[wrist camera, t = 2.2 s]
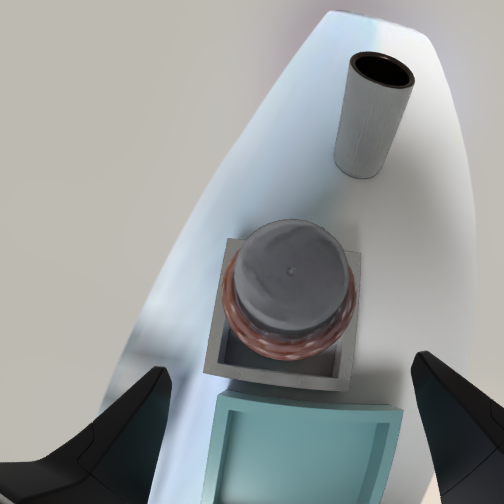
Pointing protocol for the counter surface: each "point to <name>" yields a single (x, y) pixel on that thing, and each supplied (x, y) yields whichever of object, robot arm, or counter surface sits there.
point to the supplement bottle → (289, 290)
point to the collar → (334, 383)
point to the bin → (298, 451)
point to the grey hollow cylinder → (371, 112)
